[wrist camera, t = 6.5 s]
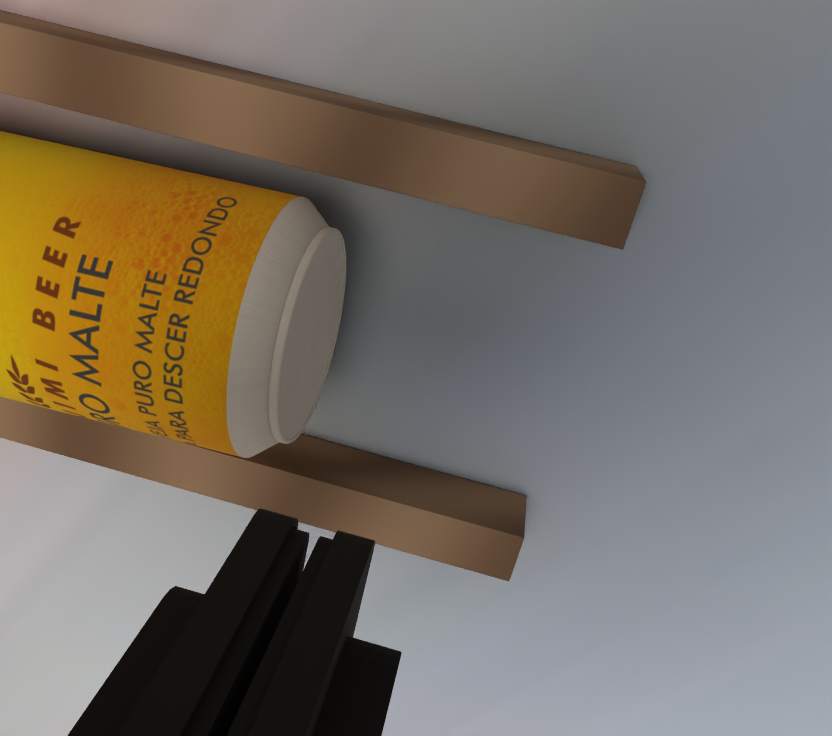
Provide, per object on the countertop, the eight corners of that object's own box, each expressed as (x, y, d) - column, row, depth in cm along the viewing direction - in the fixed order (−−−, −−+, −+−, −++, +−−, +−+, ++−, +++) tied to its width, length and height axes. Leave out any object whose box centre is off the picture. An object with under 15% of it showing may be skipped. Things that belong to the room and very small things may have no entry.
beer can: (264, 522, 17) (-340, 367, 18) (341, 371, 22) (-136, 257, 23) (272, 281, 13) (-477, 110, 14) (362, 167, 18) (-202, 47, 19)
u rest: (636, 166, 18) (658, 200, 14) (512, 537, 22) (504, 633, 19) (-350, -76, 19) (-560, -102, 16) (-273, 317, 24) (-420, 368, 20)
